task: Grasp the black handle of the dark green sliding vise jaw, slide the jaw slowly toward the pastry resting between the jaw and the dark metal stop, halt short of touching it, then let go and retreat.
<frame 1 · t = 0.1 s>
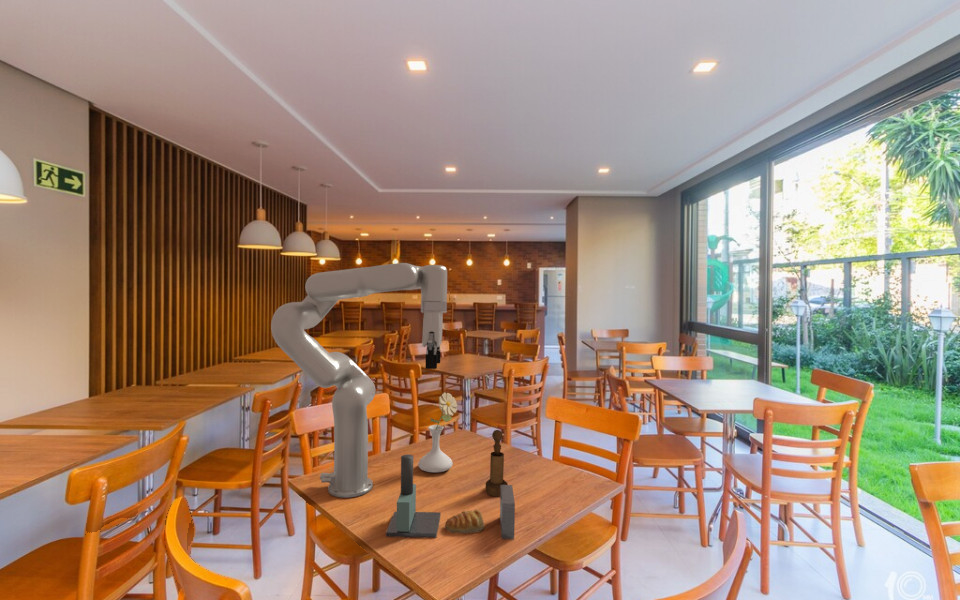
hand: (433, 365, 128), 37 cm above the table, tool pointing down, fingers open, 9 cm apart
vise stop: (506, 527, 109), on the table
dark grey flat plate: (414, 525, 109), on the table
pastry: (466, 529, 109), on the table
flower in vase: (437, 469, 145), on the table
vise jaw: (406, 488, 109), point 9 cm above the table, slide at 0.0 cm
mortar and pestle: (496, 492, 129), on the table
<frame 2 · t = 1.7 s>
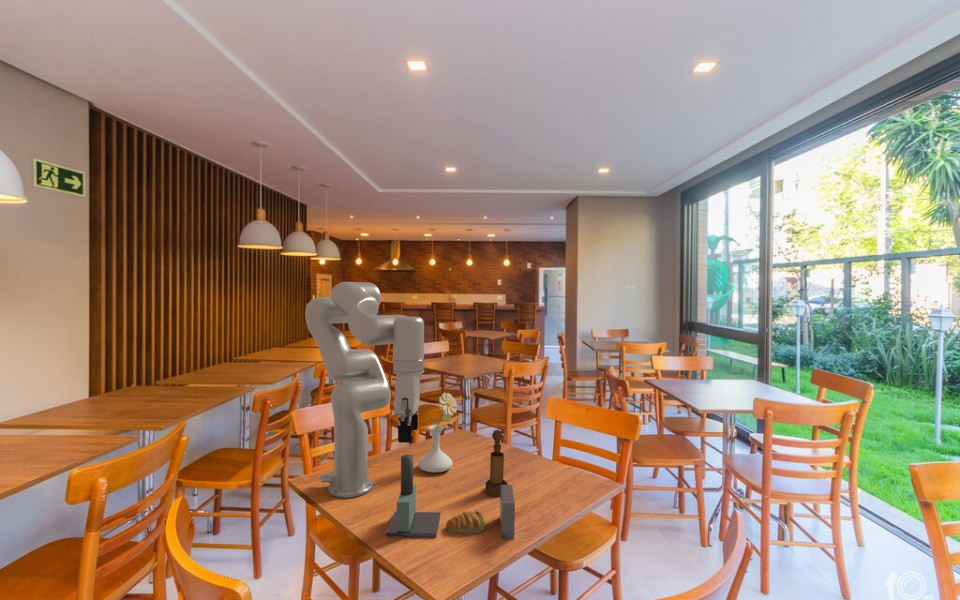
hand: (408, 435, 108), 23 cm above the table, tool pointing down, fingers open, 9 cm apart
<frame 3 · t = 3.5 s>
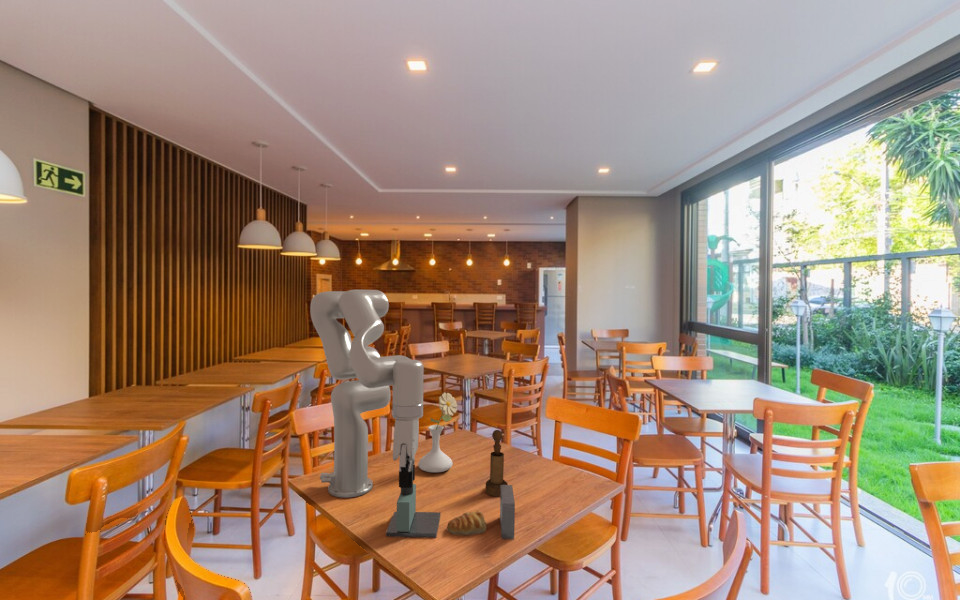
hand: (406, 483, 109), 11 cm above the table, tool pointing down, fingers closed on vise jaw, 3 cm apart
vise jaw: (406, 488, 109), point 9 cm above the table, slide at 0.0 cm, touching gripper
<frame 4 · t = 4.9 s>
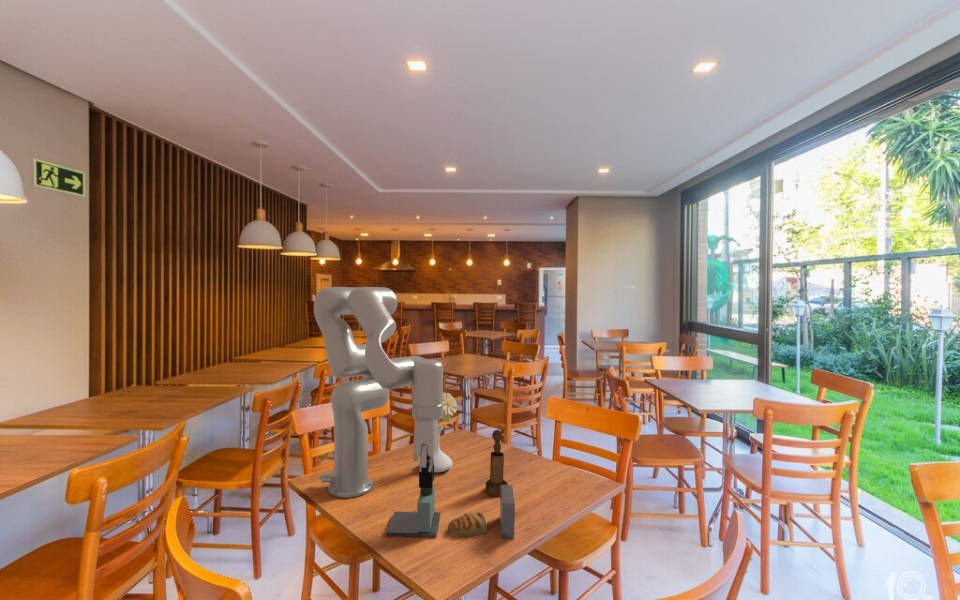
hand: (426, 483, 109), 11 cm above the table, tool pointing down, fingers closed on vise jaw, 3 cm apart
vise jaw: (426, 489, 109), point 9 cm above the table, slide at 4.9 cm, touching gripper
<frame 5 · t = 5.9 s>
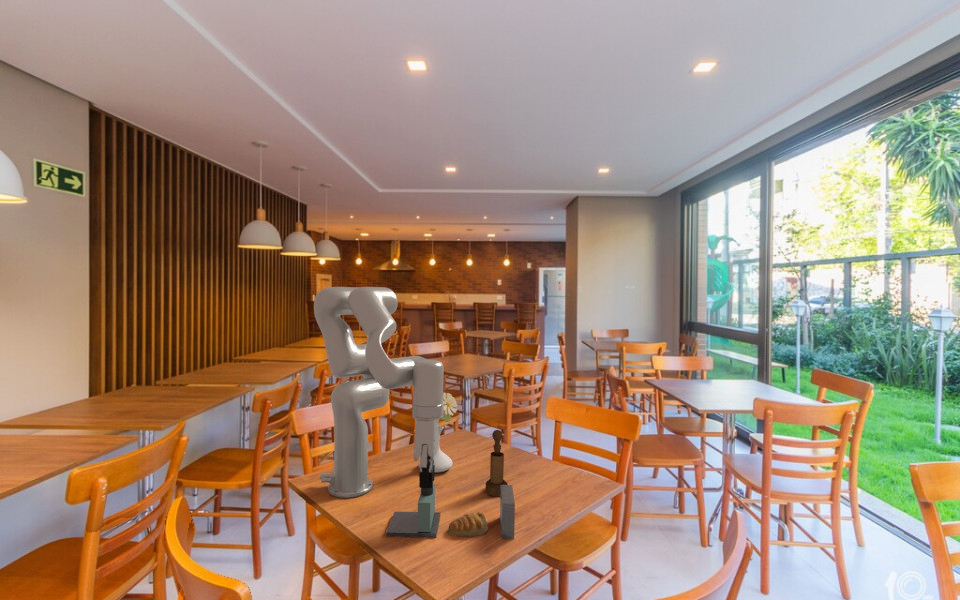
hand: (427, 483, 109), 11 cm above the table, tool pointing down, fingers closed on vise jaw, 3 cm apart
vise jaw: (426, 489, 109), point 9 cm above the table, slide at 5.0 cm, touching gripper
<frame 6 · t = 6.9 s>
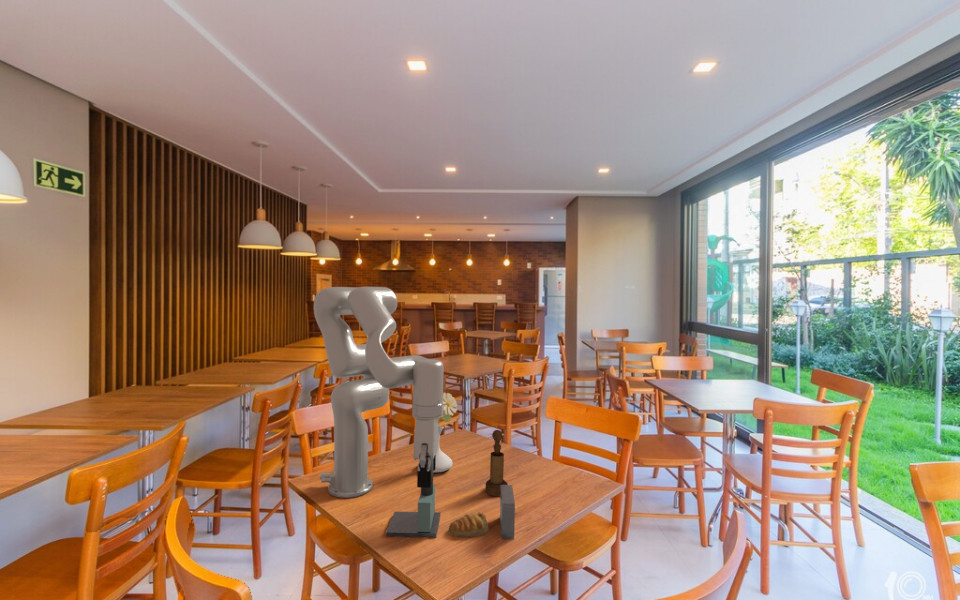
hand: (426, 478, 109), 12 cm above the table, tool pointing down, fingers open, 9 cm apart
vise jaw: (426, 489, 109), point 9 cm above the table, slide at 5.0 cm
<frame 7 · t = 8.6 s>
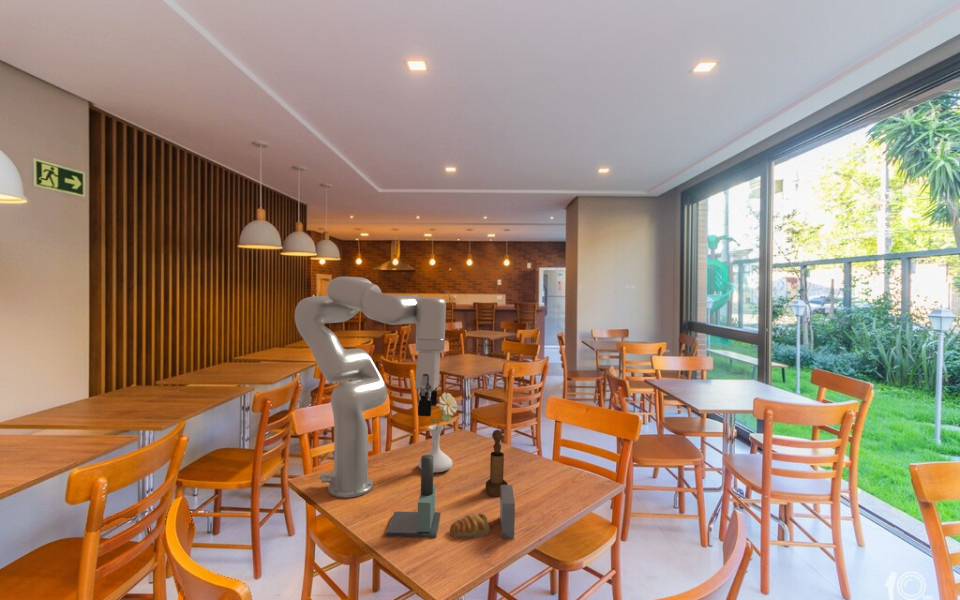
hand: (427, 410, 114), 27 cm above the table, tool pointing down, fingers open, 9 cm apart
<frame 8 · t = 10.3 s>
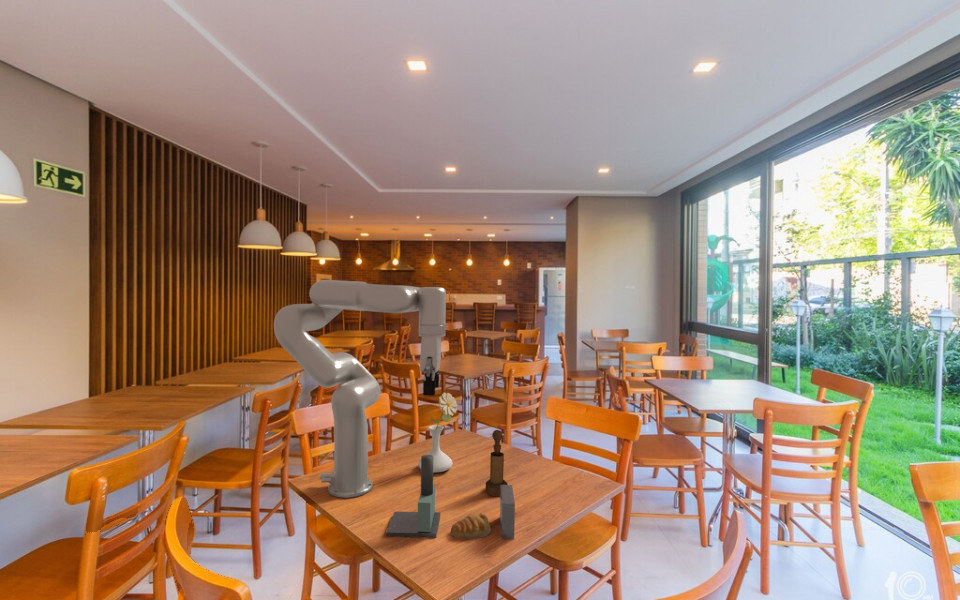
hand: (431, 391, 123), 30 cm above the table, tool pointing down, fingers open, 9 cm apart
at the end: vise jaw slide at 5.0 cm; vise jaw touching nothing; the gripper is holding nothing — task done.
